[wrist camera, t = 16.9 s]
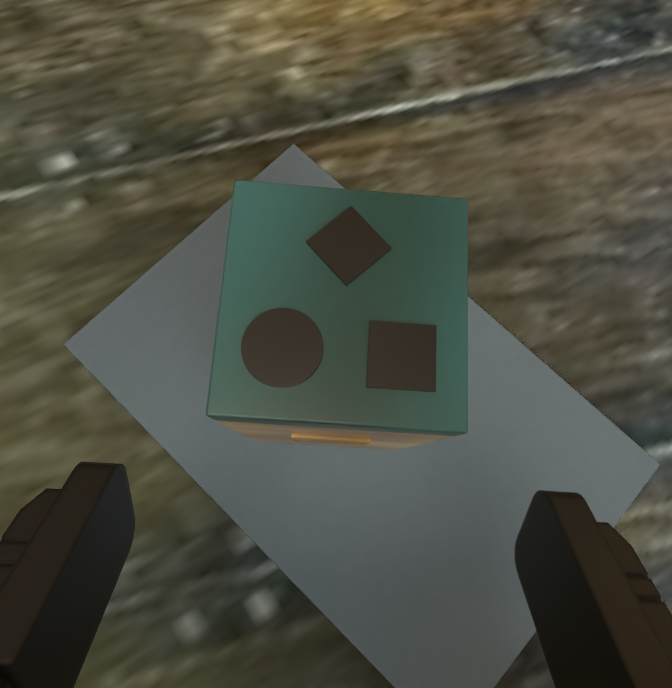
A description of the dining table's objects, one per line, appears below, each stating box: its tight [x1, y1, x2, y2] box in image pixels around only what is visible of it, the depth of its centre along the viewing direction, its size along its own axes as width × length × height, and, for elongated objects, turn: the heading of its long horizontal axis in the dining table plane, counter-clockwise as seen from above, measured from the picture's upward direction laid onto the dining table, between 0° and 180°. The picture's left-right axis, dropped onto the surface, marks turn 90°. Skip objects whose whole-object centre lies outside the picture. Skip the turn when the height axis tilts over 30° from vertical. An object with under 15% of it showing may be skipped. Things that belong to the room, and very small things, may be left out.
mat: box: [64, 144, 660, 688], centre depth 22 cm, size 22×14×1 cm, turn 46°
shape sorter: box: [206, 180, 468, 450], centre depth 17 cm, size 6×6×10 cm
